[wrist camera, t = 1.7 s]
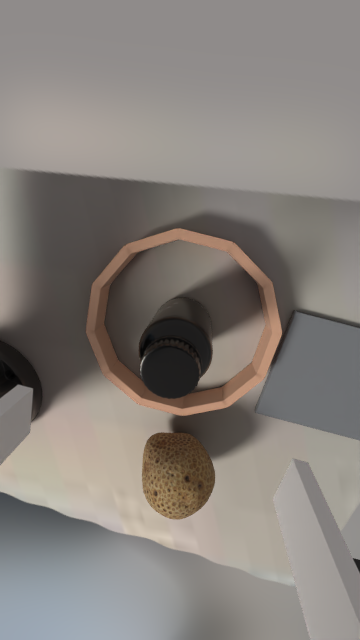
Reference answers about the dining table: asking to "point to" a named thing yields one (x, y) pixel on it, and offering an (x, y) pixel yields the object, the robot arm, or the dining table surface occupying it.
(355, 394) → the mat
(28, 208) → the dining table surface
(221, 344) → the dining table surface
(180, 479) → the natural sponge
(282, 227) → the dining table surface
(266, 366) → the pink polygonal hoop
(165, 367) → the supplement bottle
